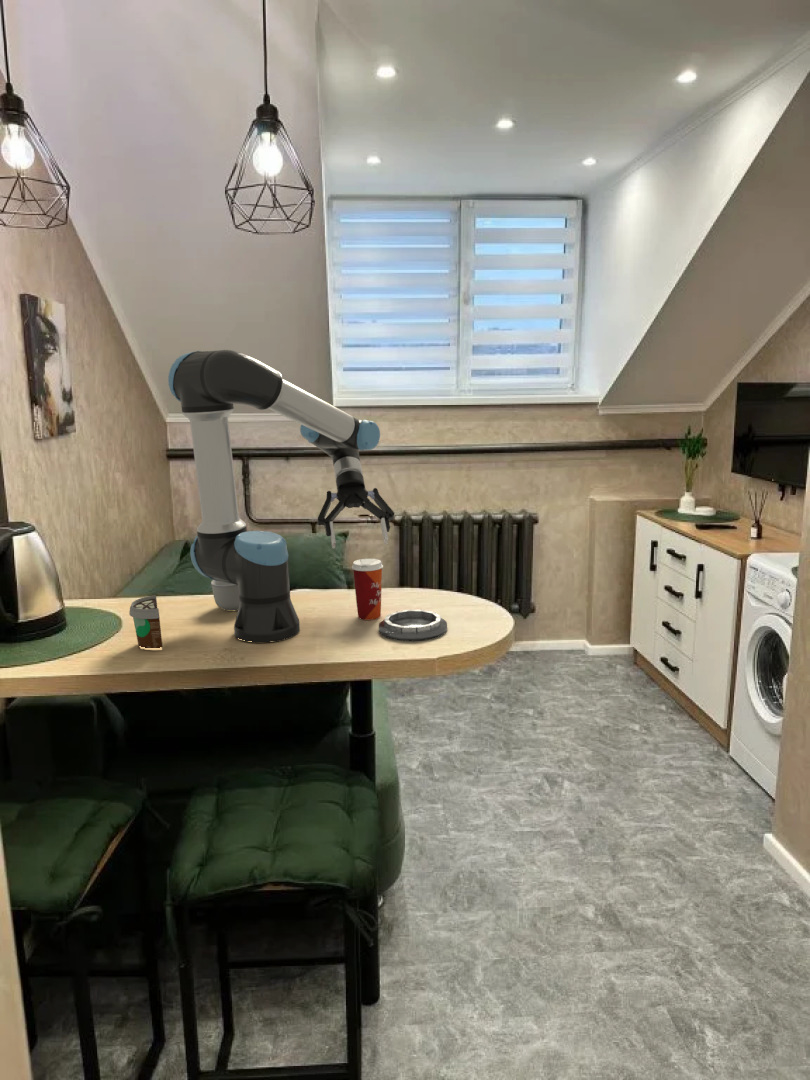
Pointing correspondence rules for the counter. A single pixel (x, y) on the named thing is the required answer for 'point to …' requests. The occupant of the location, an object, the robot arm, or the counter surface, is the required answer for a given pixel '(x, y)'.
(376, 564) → the paper cup
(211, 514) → the robot arm
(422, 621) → the rosette plate
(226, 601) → the teacup
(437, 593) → the counter surface
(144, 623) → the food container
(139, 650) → the counter surface
